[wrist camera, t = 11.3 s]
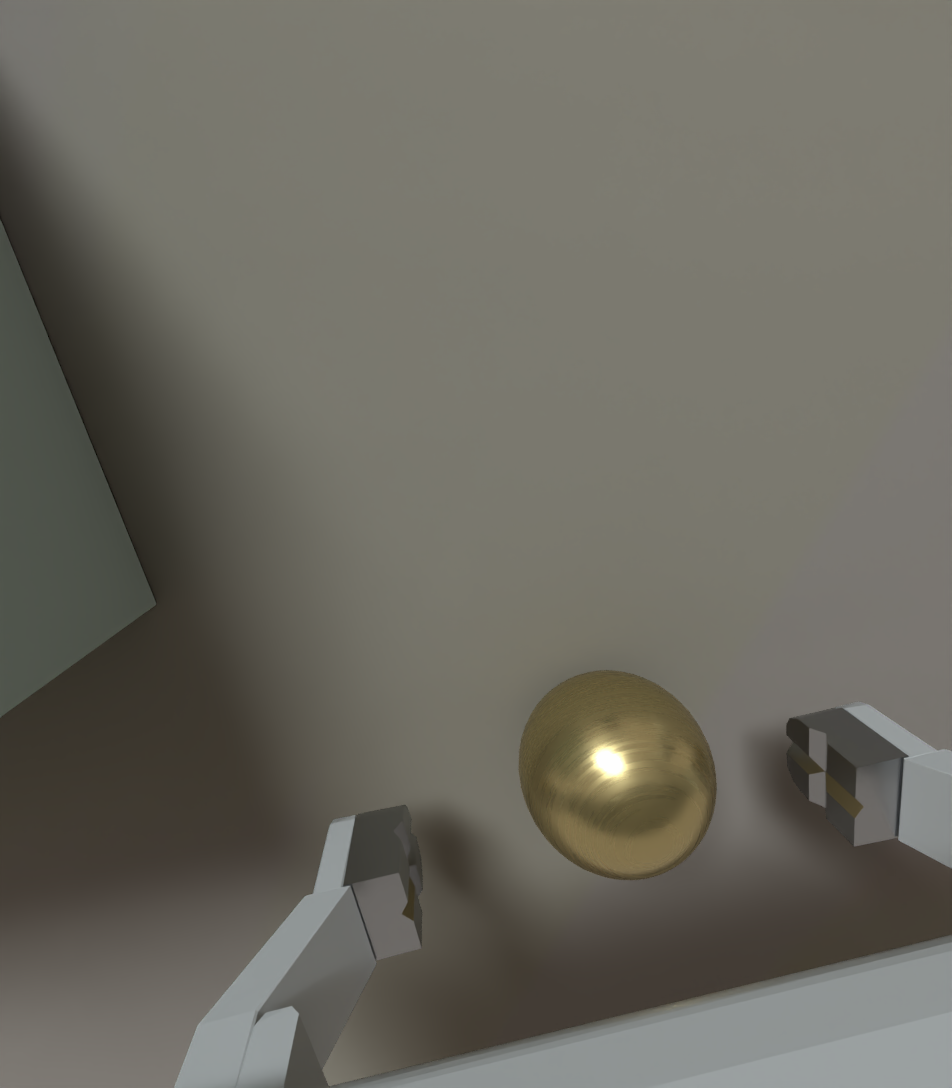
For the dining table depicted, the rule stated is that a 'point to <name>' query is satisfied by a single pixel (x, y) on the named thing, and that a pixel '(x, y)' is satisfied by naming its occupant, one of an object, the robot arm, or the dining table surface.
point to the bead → (617, 775)
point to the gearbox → (52, 513)
